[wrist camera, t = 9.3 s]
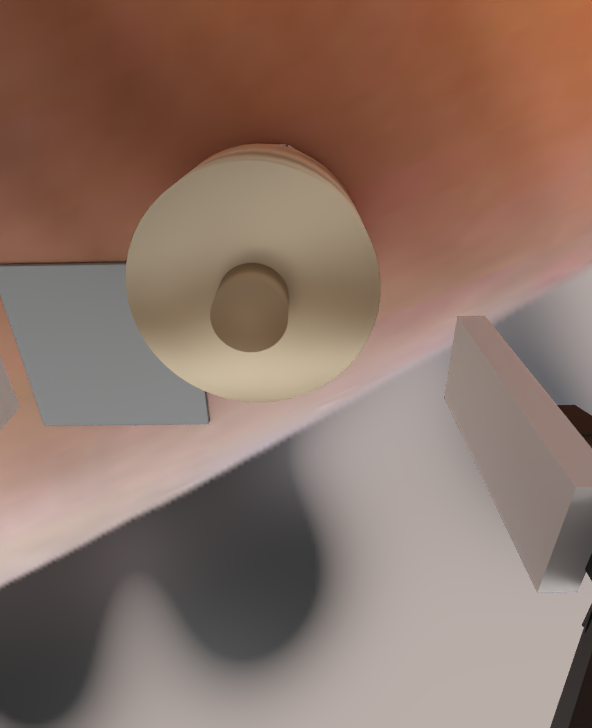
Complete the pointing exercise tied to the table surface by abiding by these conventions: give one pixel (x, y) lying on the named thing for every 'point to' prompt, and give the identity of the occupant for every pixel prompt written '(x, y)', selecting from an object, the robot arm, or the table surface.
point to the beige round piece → (254, 275)
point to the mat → (91, 349)
